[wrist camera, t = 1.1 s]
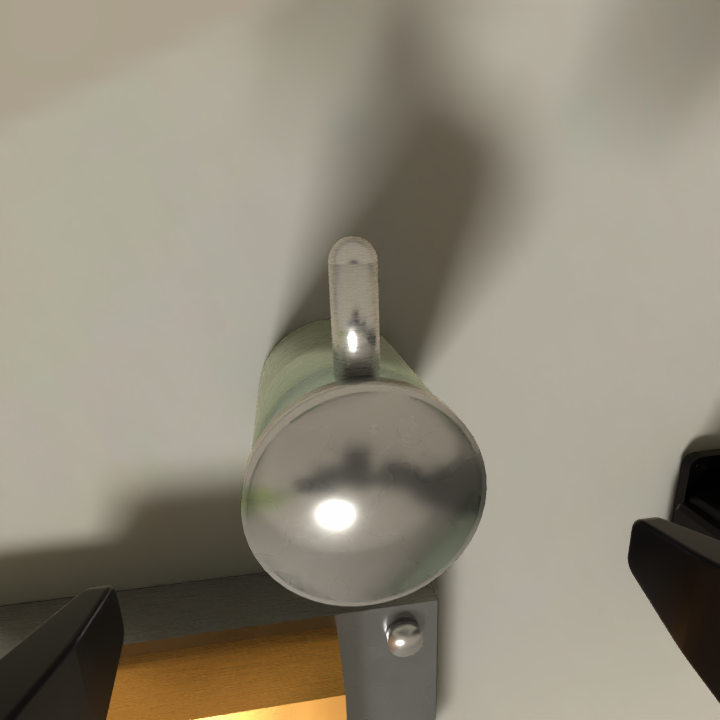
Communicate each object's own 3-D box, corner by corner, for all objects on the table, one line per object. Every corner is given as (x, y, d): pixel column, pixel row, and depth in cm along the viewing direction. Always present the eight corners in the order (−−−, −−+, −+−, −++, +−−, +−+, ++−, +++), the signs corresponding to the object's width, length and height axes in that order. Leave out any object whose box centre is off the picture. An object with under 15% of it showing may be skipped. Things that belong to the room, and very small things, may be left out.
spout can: (406, 224, 16) (498, 232, 9) (408, 451, 18) (481, 589, 12) (240, 230, 15) (209, 244, 9) (263, 466, 17) (253, 622, 11)
